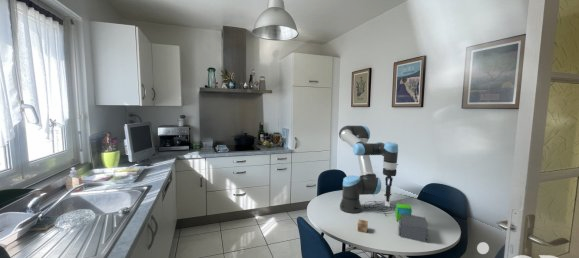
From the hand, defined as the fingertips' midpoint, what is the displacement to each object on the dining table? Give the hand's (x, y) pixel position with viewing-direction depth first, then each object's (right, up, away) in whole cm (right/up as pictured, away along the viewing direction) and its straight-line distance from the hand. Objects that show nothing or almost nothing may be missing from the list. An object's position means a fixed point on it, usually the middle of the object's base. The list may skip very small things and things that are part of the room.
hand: (387, 205), depth 144 cm
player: (+11, -14, -8) cm, 20 cm away
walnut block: (-17, -13, -5) cm, 22 cm away
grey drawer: (+10, -13, -8) cm, 18 cm away
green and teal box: (+14, -12, +10) cm, 22 cm away
